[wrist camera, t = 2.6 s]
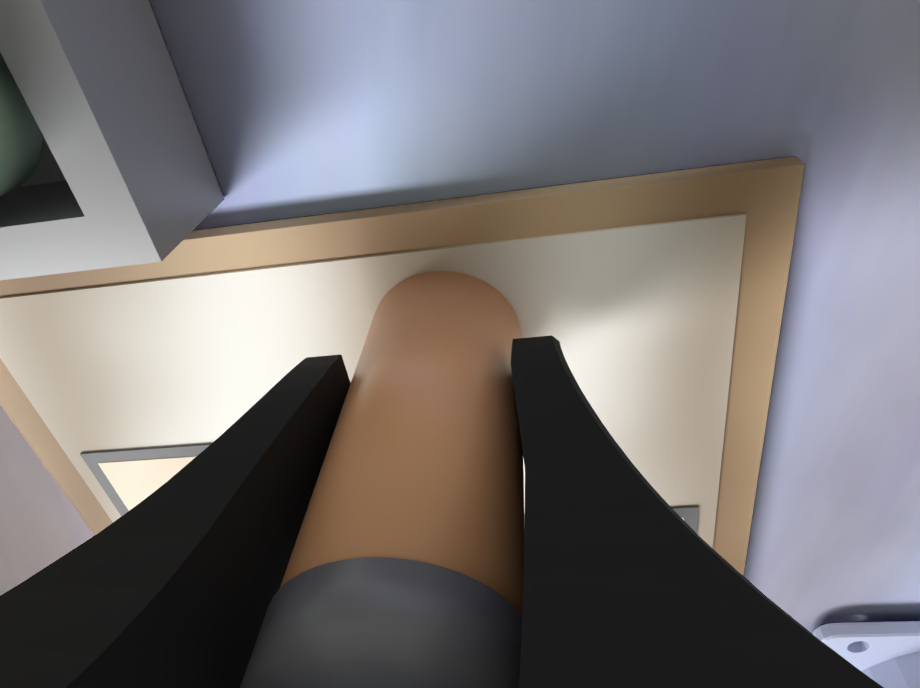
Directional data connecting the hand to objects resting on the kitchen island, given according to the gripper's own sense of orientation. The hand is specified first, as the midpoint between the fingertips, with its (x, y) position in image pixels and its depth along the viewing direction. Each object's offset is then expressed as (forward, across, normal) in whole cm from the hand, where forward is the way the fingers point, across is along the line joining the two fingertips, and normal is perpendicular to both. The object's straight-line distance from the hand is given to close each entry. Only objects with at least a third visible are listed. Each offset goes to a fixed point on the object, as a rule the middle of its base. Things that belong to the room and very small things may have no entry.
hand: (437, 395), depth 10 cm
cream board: (+2, +2, +4) cm, 5 cm away
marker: (+2, 0, 0) cm, 2 cm away
